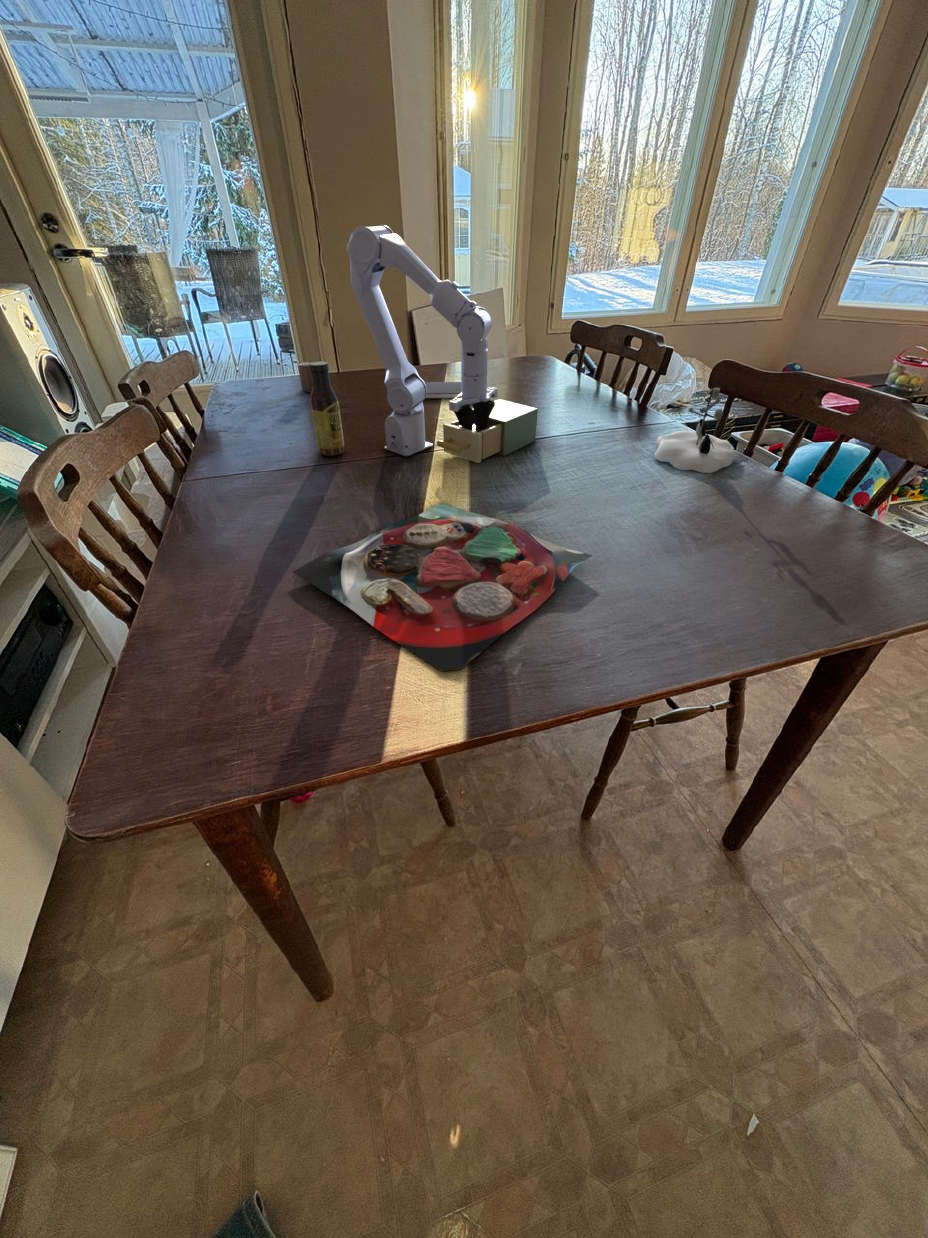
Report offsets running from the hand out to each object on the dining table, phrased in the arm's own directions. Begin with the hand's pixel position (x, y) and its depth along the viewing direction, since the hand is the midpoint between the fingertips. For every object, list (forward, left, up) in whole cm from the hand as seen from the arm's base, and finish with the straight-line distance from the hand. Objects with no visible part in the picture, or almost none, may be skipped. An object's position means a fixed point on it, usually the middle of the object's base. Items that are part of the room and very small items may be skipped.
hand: (473, 435), depth 120 cm
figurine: (+34, -40, -5) cm, 52 cm away
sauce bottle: (-21, +27, -5) cm, 35 cm away
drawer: (-1, 0, -4) cm, 4 cm away
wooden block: (+7, +75, -5) cm, 75 cm away
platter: (-41, -29, -5) cm, 51 cm away
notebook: (+34, +40, -5) cm, 52 cm away
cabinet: (+11, 0, -5) cm, 12 cm away
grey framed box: (0, 0, -1) cm, 1 cm away
